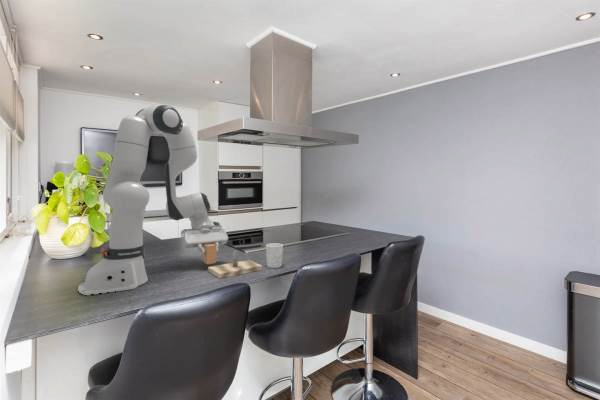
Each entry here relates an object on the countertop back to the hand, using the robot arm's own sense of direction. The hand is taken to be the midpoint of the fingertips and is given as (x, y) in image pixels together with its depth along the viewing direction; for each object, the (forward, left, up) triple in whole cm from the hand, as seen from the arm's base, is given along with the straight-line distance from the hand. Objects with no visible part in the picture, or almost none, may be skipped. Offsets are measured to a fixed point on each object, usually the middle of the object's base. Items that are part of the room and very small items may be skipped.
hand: (210, 252), depth 134 cm
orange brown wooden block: (0, +1, -5) cm, 5 cm away
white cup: (+26, -13, -8) cm, 30 cm away
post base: (+8, -9, -7) cm, 14 cm away
